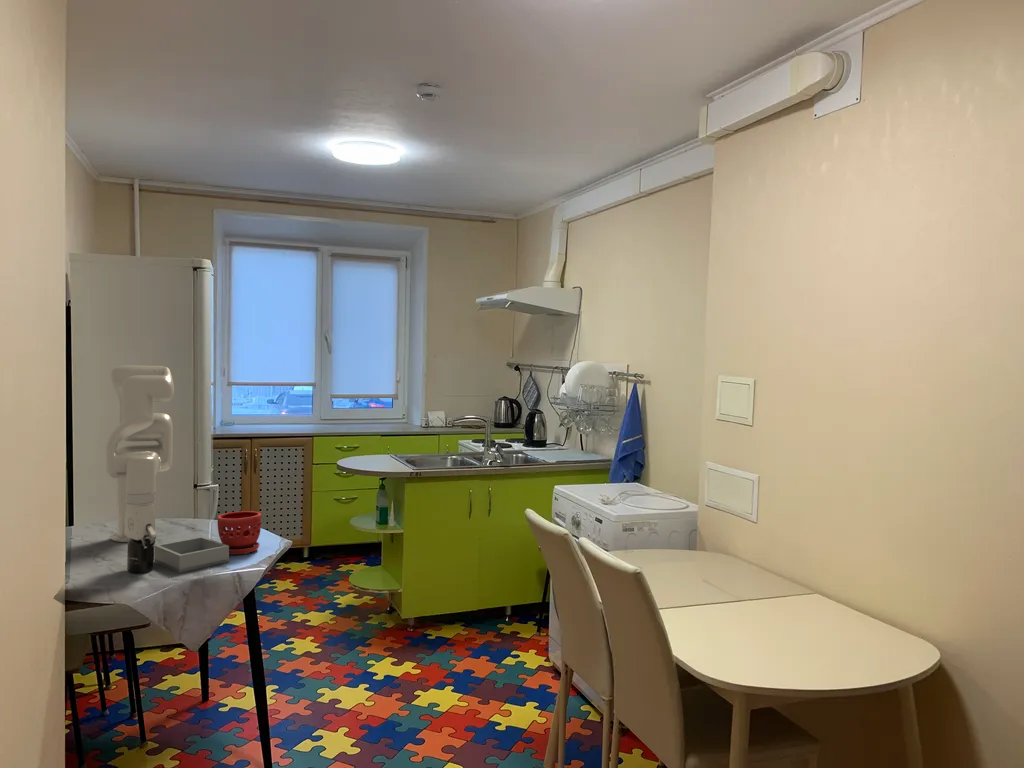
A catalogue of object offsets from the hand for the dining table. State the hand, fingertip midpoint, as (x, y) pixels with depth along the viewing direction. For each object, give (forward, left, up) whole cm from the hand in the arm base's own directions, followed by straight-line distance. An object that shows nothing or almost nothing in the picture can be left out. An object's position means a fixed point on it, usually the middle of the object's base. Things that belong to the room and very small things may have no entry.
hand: (140, 558), depth 203 cm
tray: (+2, +14, -4) cm, 15 cm away
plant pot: (+1, +30, -4) cm, 30 cm away
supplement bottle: (0, 0, -4) cm, 4 cm away
